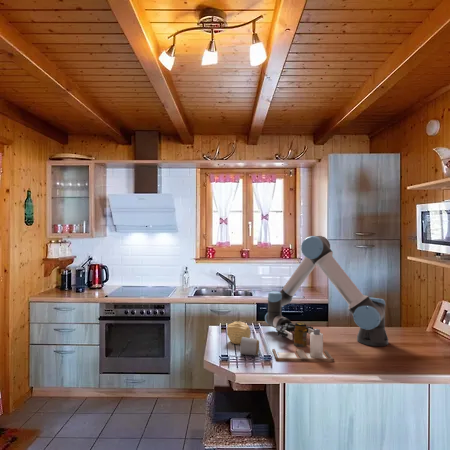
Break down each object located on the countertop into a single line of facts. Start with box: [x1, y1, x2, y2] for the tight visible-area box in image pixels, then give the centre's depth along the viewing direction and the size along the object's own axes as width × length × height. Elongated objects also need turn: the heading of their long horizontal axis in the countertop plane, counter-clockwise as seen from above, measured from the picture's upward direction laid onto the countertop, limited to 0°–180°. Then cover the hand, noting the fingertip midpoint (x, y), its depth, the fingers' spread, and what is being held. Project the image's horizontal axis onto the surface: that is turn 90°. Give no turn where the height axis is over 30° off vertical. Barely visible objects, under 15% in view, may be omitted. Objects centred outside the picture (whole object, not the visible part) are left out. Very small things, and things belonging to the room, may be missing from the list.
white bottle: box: [309, 328, 324, 358], centre depth 160 cm, size 6×6×12 cm
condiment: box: [293, 321, 308, 348], centre depth 175 cm, size 7×8×12 cm
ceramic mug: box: [239, 337, 260, 356], centre depth 166 cm, size 11×8×8 cm
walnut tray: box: [272, 348, 335, 363], centre depth 160 cm, size 25×12×2 cm, turn 90°
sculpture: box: [226, 321, 252, 346], centre depth 182 cm, size 12×12×11 cm
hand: (304, 335), depth 172 cm, fingers open, 13 cm apart
